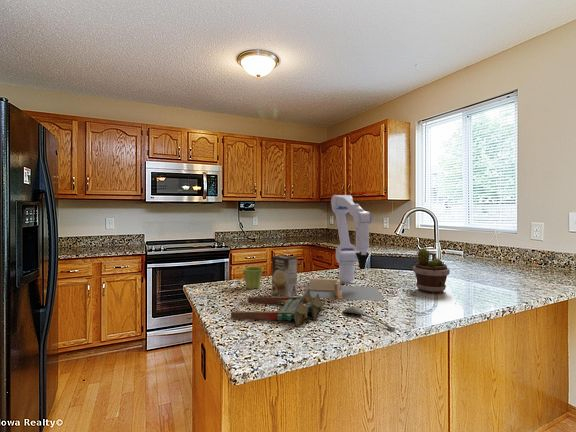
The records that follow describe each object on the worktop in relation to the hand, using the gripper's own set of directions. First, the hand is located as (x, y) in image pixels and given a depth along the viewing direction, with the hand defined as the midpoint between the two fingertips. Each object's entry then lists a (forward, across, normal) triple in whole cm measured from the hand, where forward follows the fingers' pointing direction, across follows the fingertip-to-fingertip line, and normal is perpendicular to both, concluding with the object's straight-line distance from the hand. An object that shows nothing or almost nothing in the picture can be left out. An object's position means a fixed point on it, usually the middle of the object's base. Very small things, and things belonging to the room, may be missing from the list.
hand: (362, 268), depth 141 cm
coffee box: (+10, -13, +33) cm, 37 cm away
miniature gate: (+10, -35, +31) cm, 48 cm away
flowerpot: (+10, +3, -30) cm, 32 cm away
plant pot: (+10, -3, +49) cm, 50 cm away
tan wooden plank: (+8, -11, +11) cm, 18 cm away
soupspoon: (+10, -38, +2) cm, 40 cm away
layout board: (+9, -7, +9) cm, 15 cm away
